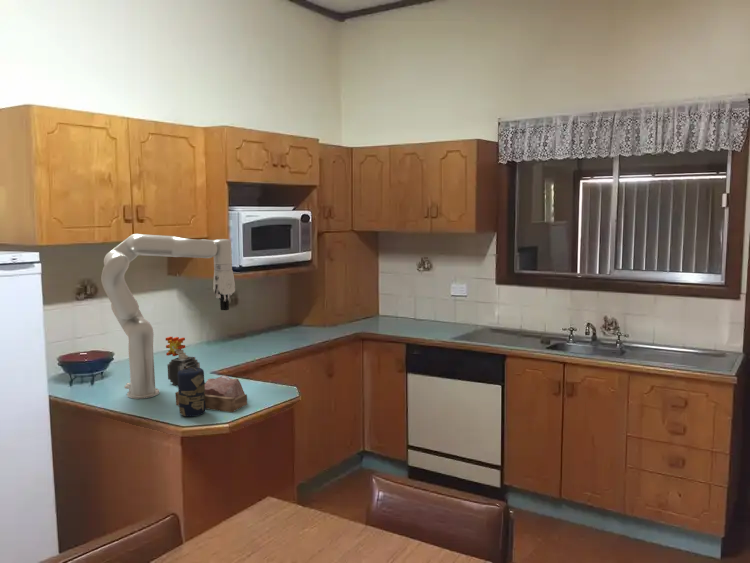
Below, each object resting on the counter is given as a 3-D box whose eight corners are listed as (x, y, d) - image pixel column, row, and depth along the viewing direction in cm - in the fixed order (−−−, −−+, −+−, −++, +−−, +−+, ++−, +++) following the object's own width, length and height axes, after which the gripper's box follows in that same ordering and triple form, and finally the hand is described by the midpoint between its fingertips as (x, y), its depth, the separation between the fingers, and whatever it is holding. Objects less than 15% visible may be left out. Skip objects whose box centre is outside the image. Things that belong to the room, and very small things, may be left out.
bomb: (189, 386, 282) (186, 341, 280) (164, 383, 288) (162, 338, 285) (200, 382, 290) (198, 337, 287) (176, 379, 295) (174, 335, 292)
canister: (188, 420, 239) (186, 371, 237) (174, 414, 246) (172, 367, 243) (211, 413, 246) (208, 366, 244) (196, 408, 253) (194, 362, 250)
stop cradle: (176, 405, 257) (175, 392, 256) (192, 397, 266) (191, 385, 266) (232, 412, 247) (231, 399, 247) (247, 404, 257) (246, 392, 256)
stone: (220, 374, 272) (194, 383, 262) (252, 380, 258) (226, 390, 249) (222, 393, 273) (197, 402, 263) (254, 400, 260) (229, 411, 250)
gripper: (220, 269, 275) (221, 313, 277) (240, 266, 289) (241, 307, 291) (205, 269, 278) (207, 312, 280) (225, 266, 291) (227, 306, 294)
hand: (224, 309), depth 285 cm, fingers closed
